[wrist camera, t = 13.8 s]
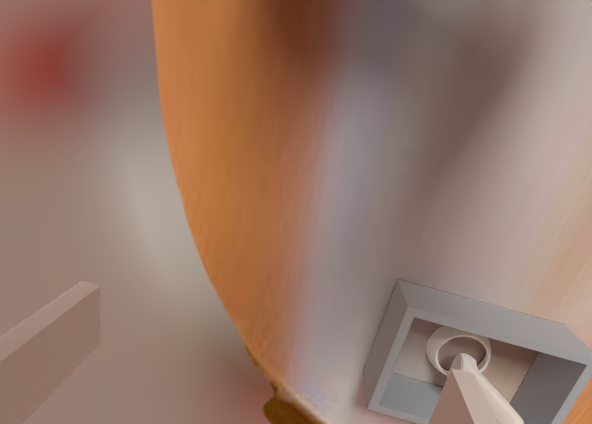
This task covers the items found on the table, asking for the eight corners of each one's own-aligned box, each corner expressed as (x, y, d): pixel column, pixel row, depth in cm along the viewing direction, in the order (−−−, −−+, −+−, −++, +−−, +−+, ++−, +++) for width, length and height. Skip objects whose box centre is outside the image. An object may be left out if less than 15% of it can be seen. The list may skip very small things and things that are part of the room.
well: (397, 279, 41) (408, 306, 35) (564, 324, 40) (601, 359, 35) (363, 371, 45) (367, 409, 39) (513, 413, 45) (539, 458, 39)
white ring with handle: (529, 432, 39) (491, 457, 36) (449, 346, 48) (412, 361, 45) (567, 393, 35) (528, 417, 32) (472, 308, 44) (434, 321, 41)
